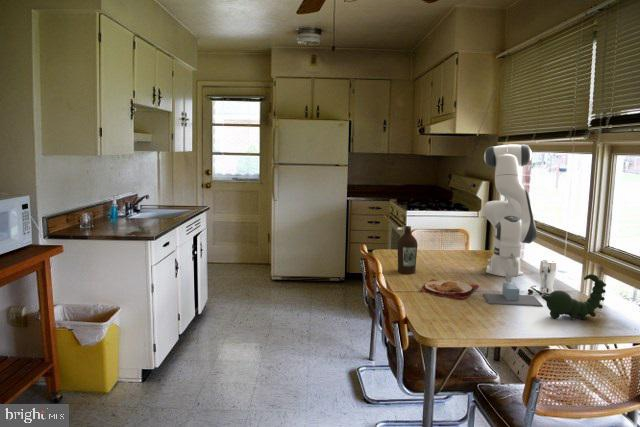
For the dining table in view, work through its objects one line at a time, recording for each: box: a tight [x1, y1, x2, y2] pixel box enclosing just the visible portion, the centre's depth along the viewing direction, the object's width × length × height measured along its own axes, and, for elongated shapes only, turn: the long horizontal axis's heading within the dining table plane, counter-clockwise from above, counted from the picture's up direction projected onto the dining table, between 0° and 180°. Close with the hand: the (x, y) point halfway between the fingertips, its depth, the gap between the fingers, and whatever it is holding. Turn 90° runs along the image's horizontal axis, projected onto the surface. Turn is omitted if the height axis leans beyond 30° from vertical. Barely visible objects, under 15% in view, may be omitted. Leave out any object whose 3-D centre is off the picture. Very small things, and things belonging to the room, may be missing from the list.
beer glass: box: [539, 259, 557, 295], centre depth 232 cm, size 7×7×15 cm
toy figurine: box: [540, 273, 607, 321], centre depth 197 cm, size 9×19×25 cm
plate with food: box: [418, 278, 480, 300], centre depth 236 cm, size 24×26×3 cm
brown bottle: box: [396, 225, 418, 275], centre depth 268 cm, size 11×11×25 cm
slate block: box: [501, 282, 520, 300], centre depth 223 cm, size 5×5×10 cm
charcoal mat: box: [483, 292, 544, 308], centre depth 220 cm, size 14×22×1 cm, turn 82°
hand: (508, 281), depth 228 cm, fingers closed
